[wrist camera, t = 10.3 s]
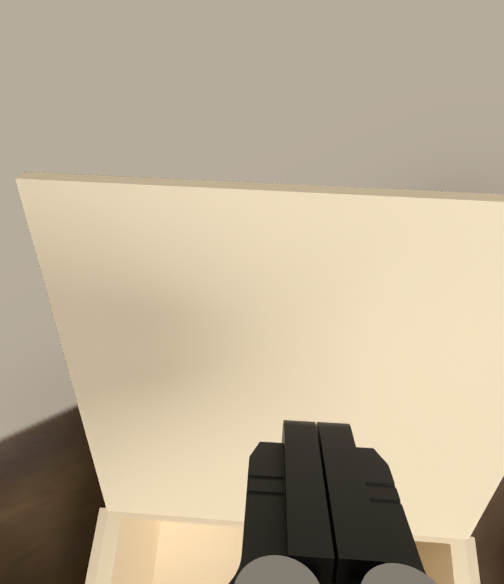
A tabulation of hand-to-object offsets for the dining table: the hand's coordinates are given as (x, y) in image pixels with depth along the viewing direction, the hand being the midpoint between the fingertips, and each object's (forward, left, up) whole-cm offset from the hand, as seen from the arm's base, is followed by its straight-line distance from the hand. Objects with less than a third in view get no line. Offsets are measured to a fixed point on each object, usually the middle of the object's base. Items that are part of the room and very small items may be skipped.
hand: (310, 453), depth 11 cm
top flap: (0, +3, -8) cm, 8 cm away
